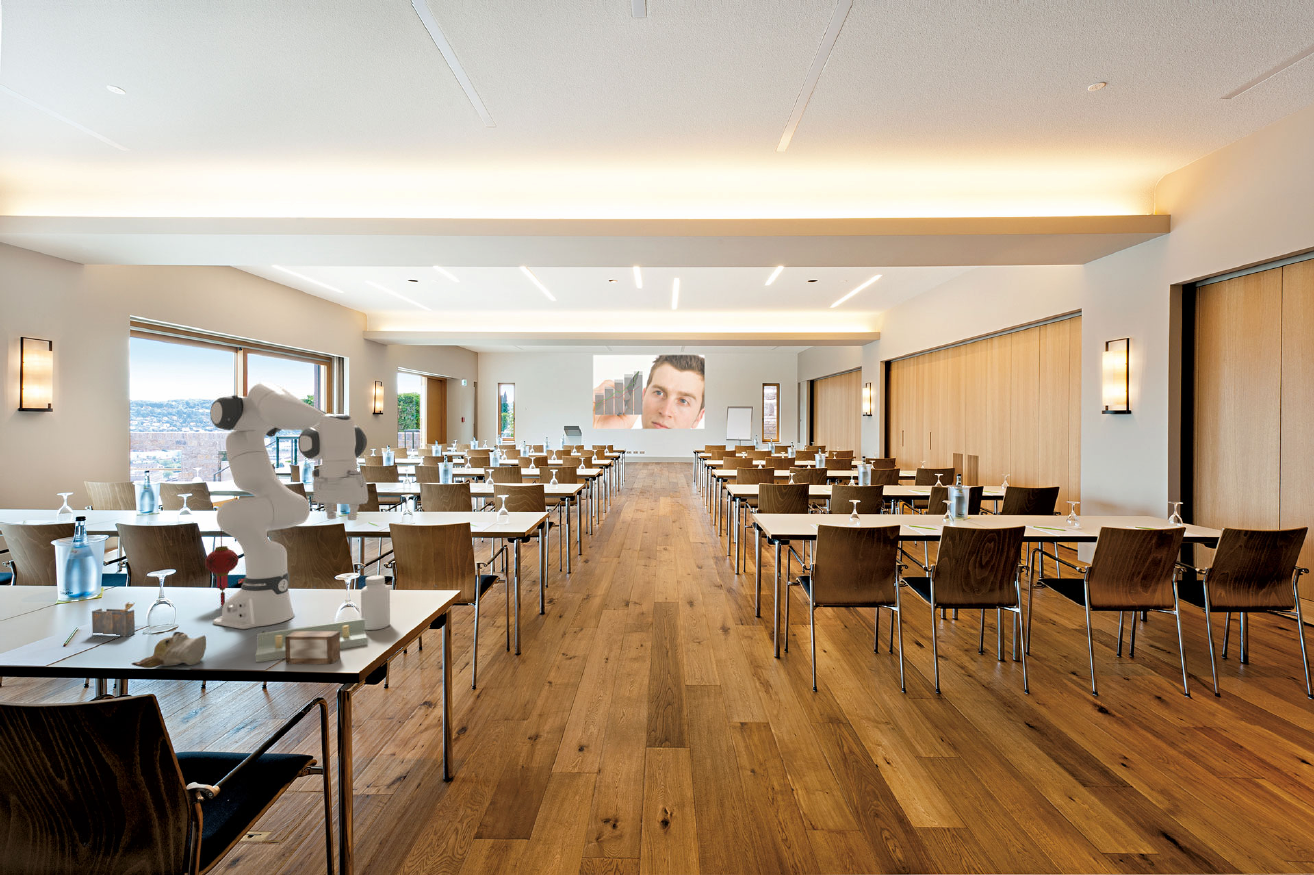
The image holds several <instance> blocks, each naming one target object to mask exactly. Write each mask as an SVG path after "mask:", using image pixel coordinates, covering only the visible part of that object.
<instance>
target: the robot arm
mask: <svg viewBox="0 0 1314 875" xmlns="http://www.w3.org/2000/svg"><path fill="white" fill-rule="evenodd" d="M209 415H210V420H211V422H212V424H213V425H214V427H215V428H218V429H220V430H224V431H231V432H229V434H228V435H227V436H226V439H225V448H226V450H225V451H226V457H227V461H228V462H227V463H228V465H229V468H230V472H231V475H232V478H233V482H234V485H235V486H236V487H237V488H238V489H239V490H241V491H243V492H245V493H248V494H251V495H252V496H250V497H241V498H237V499H233V500H229V501H225V502H223V504H222V505H220V507H219V509H218V511H217V513H216V522H217V526H218V527H219V528H220V530H221V529H222V531H223V532H224V533H225V534H227V535H230V536H231V537H232V538H233V539H235V541H237V543H238V545H240V548H241V550H242V552H243V556H244V564H245V576H244V578H240V579H238V580H237V581H238V584H241V586H240V589H239V590H238V591H236V593H234V594H233V595H231V596H230V597H229V598H228V599H227V600H225V603H224V605H223V606H222V608H221V609H222V610H221V615H220V616H218V617H216V618H215V619H213V620H212V624H213V625H217V626H218V625H219V626H225V627H229V628H235V629H240V630H241V629H242V630H246V629H252V628H257V627H263V626H270V625H275V624H280V623H282V622H286V621H288V620H290V619H292V618H294V616H295V614H294V610H293V606H292V603H291V595H290V591H289V584H290V573H289V572H288V552H287V549H286V547H285V546H284V545H282V544H281V543H279V542H276V541H275V540H274V541H273V540H270V539H269V537H268V532H269V531H274V530H275V531H276V530H282V529H289V528H293V527H296V526H299V525H301V524H305V523H306V521H307V520H308V518H309V516H310V512H311V506H310V504H309V501H308V500H307V499H306V497H304V496H303V495H302V494H299V493H296V492H295V491H293V490H291V489H290V488H288V487H287V486H286V485H285V484H284V483H283V482H282V481H281V480H280V479H279V478H278V476H277V474H276V471H275V470H274V467H273V465H272V461H271V458H270V456H269V453H268V449H267V448H266V444H265V437H266V436H268V437H269V438H273V437H275V436H276V434H277V433H278V432H280V431H282V430H284V431H285V430H286V431H301V433H300V435H299V436H298V439H297V440H298V441H297V442H298V449H299V452H300V453H301V454H302V455H303V456H304V457H305V458H306V459H308V460H315V461H316V460H321V465H319V466H318V467H317V468H314V469H313V470H312V471H311V477H312V478H313V482H312V487H313V488H312V490H313V499H314V500H315V502H316V503H317V504H323V508H324V510H325V512H326V518H327V519H328V520H335V519H336V518H337V516H336V515H337V513H336V512H335V511H334V506H335V505H348V508H349V509H350V510H349V513H347V515H346V516H347V520H348V521H356V520H357V514H358V511H359V509H360V505H363V504H367V503H368V501H369V491H368V484H367V480H366V478H365V476H364V474H363V473H362V472H361V471H360V470H358V467H357V466H358V464H357V463H358V462H357V461H358V460H357V459H359V457H361V455H362V454H363V453H364V452H365V450H366V448H367V446H368V445H367V444H368V440H367V439H368V438H367V435H366V433H365V432H364V431H363V430H362V429H361V428H360V427H359V426H357V425H355V424H354V420H353V418H352V417H351V416H350V415H348V414H343V413H341V414H339V413H328V412H325V411H324V410H321V409H319V408H317V407H315V406H313V405H310V404H309V403H307V402H305V401H303V400H301V399H299V398H298V397H296V396H294V395H293V394H291V393H290V392H289V391H287V390H286V389H284V388H282V387H281V386H279V385H277V384H275V383H274V384H273V383H271V382H260V383H256V384H255V385H254V386H252V387H251V388H250V390H249V391H248V393H247V395H246V396H239V395H237V394H235V395H234V394H233V395H227V396H223V397H218V398H217V399H216V400H214V402H213V403H212V404H211V407H210V414H209Z"/></svg>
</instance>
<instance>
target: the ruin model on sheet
mask: <svg viewBox="0 0 1314 875" xmlns="http://www.w3.org/2000/svg"><path fill="white" fill-rule="evenodd" d="M135 603H136V602H133V603H130V602H129V601H128V602H127V603H125V605H124V607H125V608H124V609H123V608H121V609H120V608H116V609H115V608H105V610H103V608H98V609H95V610H92V611H91V620H92V621H91V624H92V625H91V626H92V629H91V630H92V634H93V633H103V634H116V635H120V636H128V637H130V636H129V635H131V636H133V635H132V634H134V635H135V634H136V629H135V625H136V624H135V621H136V620H135V609H132V610H130V609H131V608H132V607H133V606H134V605H135Z"/></svg>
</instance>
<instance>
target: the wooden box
mask: <svg viewBox="0 0 1314 875" xmlns="http://www.w3.org/2000/svg"><path fill="white" fill-rule="evenodd" d="M285 653H286V658H285V665H287V664H289V665H292V664H293V665H294V664H295V665H301V664H302V665H305V664H306V665H307V664H308V665H309V664H311V665H312V664H314V665H316V664H317V665H319V664H320V665H323V664H325V665H327V664H330V665H331V664H334V663H335V662H336V661H338V660H339V659H341V649H340V631H294V632H293V633H291V634H289V635H287V636H285Z"/></svg>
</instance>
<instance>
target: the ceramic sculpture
mask: <svg viewBox="0 0 1314 875" xmlns="http://www.w3.org/2000/svg"><path fill="white" fill-rule="evenodd" d="M153 650H154V652H153V655H151V656H147V657H145V658H143V659H142V660H140V661H136V662H135V661H134V662H131V665H132V666H135V667H139V668H144V669H153V668H156V667H160V666H163V667H170V666H171V667H172V666H177V665H179V664H180V665H181V664H183V663H184V664H186V665H187V666H193V665H197V664H199V663H200V662H201V661H202V659H204V656H205V652H206V650H207V638H206V635H202V636H198V637H196V638H190V637H189V636H188V634H186V633H185V632H181V631H175V632H173V634H172V636H167V637H165V638H163V639H161V640H160V641H159V642H157V643H156V644H155V646H154V649H153Z"/></svg>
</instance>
